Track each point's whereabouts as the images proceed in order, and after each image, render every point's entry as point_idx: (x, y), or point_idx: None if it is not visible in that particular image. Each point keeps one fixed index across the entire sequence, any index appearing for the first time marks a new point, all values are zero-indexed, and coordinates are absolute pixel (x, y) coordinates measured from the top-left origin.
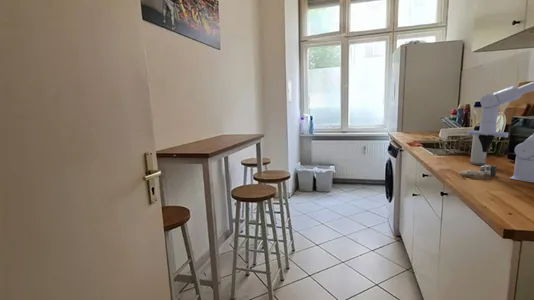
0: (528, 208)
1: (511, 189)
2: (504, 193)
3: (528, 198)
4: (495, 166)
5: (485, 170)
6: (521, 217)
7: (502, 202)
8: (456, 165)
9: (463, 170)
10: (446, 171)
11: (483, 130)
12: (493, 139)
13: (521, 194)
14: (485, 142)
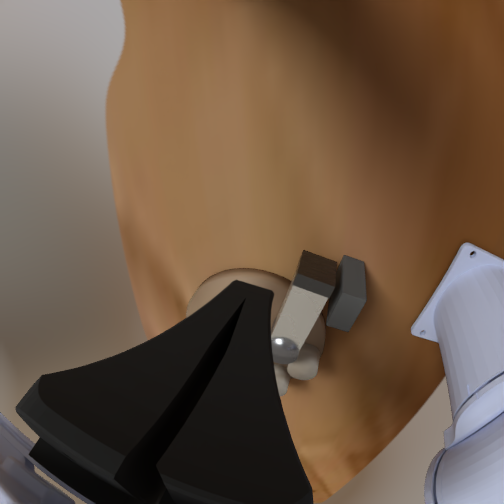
0: (346, 482)
1: (359, 431)
2: (330, 452)
3: (370, 460)
4: (354, 315)
5: (293, 364)
6: (324, 494)
7: (313, 476)
8: (127, 74)
9: (194, 297)
10: (136, 281)
11: None
12: (299, 464)
13: (367, 450)
14: (193, 408)
